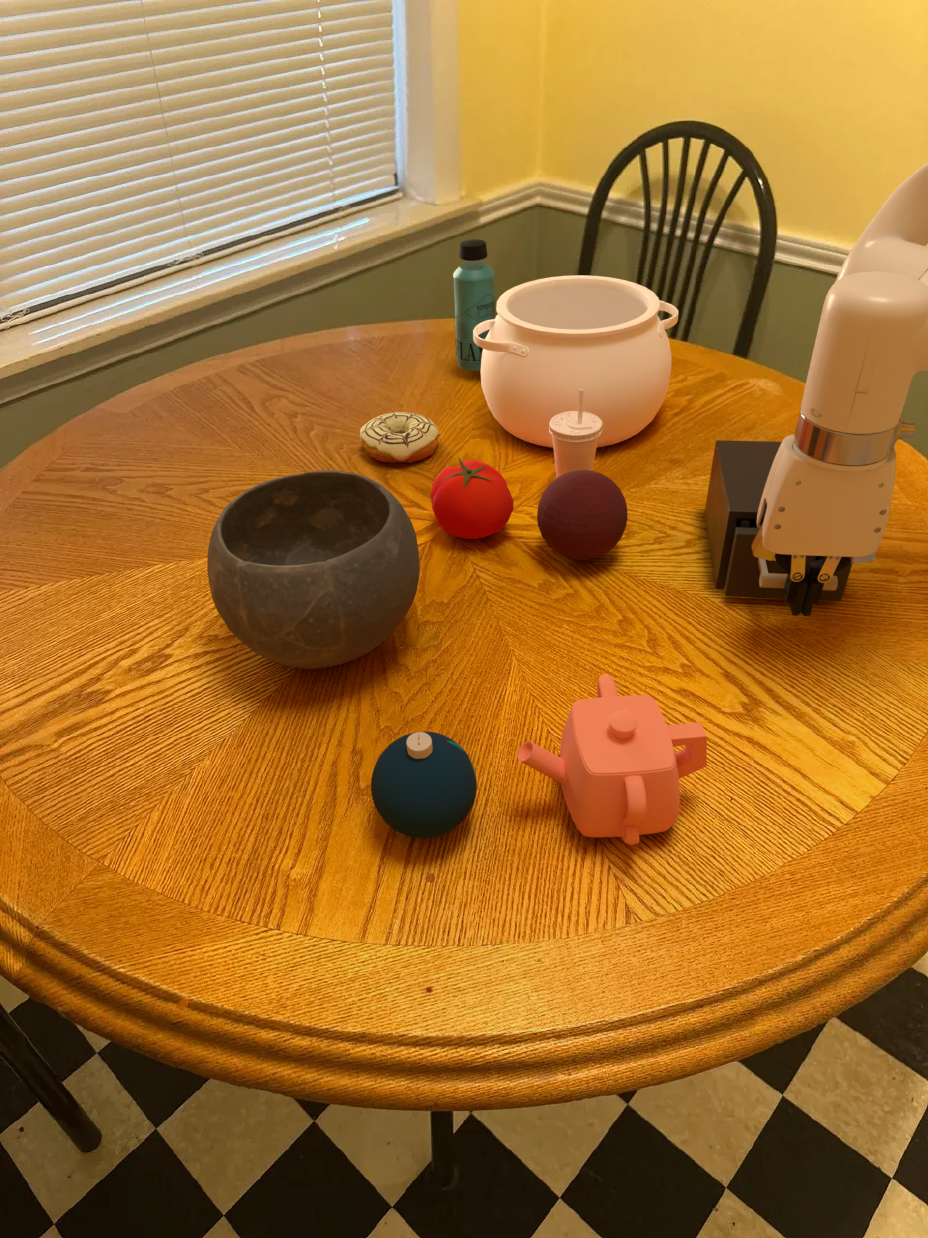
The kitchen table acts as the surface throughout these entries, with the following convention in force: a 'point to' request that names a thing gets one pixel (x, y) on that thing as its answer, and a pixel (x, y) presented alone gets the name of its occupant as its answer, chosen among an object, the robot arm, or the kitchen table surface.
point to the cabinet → (734, 494)
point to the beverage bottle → (472, 302)
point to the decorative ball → (582, 515)
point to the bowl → (313, 567)
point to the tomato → (471, 500)
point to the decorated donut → (399, 437)
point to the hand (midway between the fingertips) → (798, 606)
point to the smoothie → (575, 439)
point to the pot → (576, 355)
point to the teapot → (620, 764)
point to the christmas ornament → (423, 785)
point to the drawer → (767, 571)
